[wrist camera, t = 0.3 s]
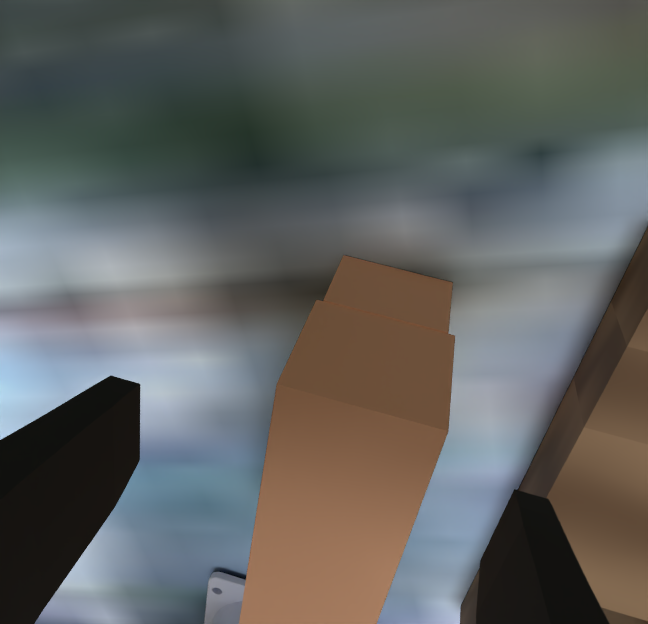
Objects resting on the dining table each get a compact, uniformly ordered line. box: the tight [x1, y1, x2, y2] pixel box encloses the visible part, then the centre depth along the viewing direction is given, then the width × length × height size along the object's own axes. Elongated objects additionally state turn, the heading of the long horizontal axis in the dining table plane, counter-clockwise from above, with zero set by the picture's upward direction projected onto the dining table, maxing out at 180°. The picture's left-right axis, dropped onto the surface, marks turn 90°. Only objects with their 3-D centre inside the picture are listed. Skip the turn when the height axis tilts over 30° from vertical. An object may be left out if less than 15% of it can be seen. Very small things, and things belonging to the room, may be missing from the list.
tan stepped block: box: [239, 255, 455, 624], centre depth 20 cm, size 12×4×7 cm, turn 171°
